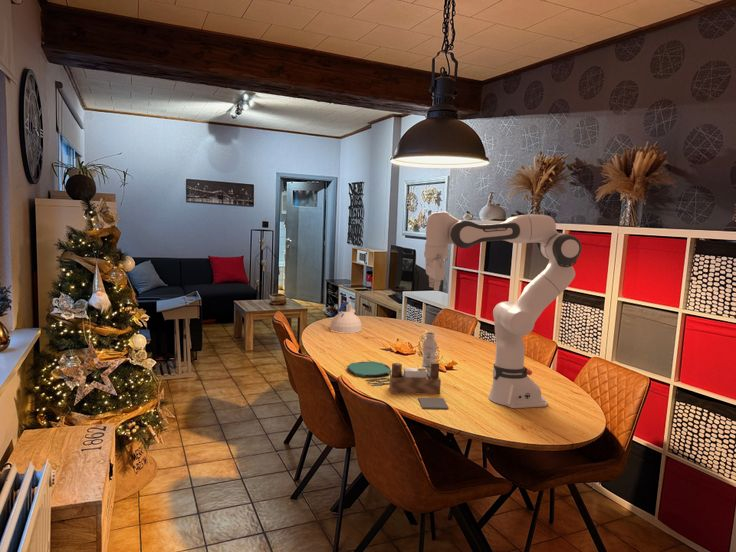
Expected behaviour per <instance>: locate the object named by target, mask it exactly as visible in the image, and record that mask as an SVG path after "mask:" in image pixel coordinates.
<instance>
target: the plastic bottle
mask: <svg viewBox="0 0 736 552" xmlns="http://www.w3.org/2000/svg"><path fill="white" fill-rule="evenodd" d="M437 343H438V342H437V341H436V340H435V333H434V332H426V333H425V339H424V340H423V342H422V364H421V367H425V368H426V370H427V372H429V374H430V371H431V362H436V352H437V349H438V344H437Z"/></svg>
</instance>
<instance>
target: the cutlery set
mask: <svg viewBox="0 0 736 552" xmlns="http://www.w3.org/2000/svg"><path fill="white" fill-rule="evenodd" d="M346 367H347V370H348V372H349V373H352V374H354V375H355V376H356V377H362V378H364V377H380V376H381V377H380V378H369V379H365V381H366V382H367V383H368V384H370V383H371V384H370V386H371V387H379V386H380V387H382V385H383V386H385V385H390V378H389V377H385V376H384V377H383V375H386V374H388V375H389V376H390V373H392V368H391V366H389V365H387V364H384V362H379V361H370V360H369V361H359V362H358V361H357V362H351V363H350V364H348V365H347V366H346ZM375 381H376V382H375ZM369 382H370V383H369Z"/></svg>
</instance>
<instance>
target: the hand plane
mask: <svg viewBox="0 0 736 552" xmlns="http://www.w3.org/2000/svg"><path fill="white" fill-rule="evenodd" d="M402 365H403V364H402V363H400V362H394V363H391V373H390V375H389V379H390V381H389V383H390V384H389V390H390V393H391V394H416V393H420V394H424V395H426V394H428V395H429V394H430V395H431V394H432V395H440V394H441V381H442V380H441V378H440V376H439V375H440V373H439V372H440V363H439V361H435V362H431V371H430V374H429V372H427V378H405V377H404V371H403V370H402V369H403V366H402ZM420 394H419V395H420Z"/></svg>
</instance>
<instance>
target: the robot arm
mask: <svg viewBox="0 0 736 552" xmlns="http://www.w3.org/2000/svg"><path fill="white" fill-rule="evenodd" d="M425 228H426V229H425V238H426V240H425V243H424V255H423V257H424V258H425V274H426V275H427V276H428V282H429V285H428V286H429V288H433V291H435V292H439V291H440V286H441V281H444V280H445V277H446V274H445V273H446V263H445V260H447V259H448V254H449V252H448V251H449V245H450V244H452V245H453V246H456V247H457V248H460V249H469V248H473V247H474V246H475V245H478V244H480V243H484V242H485V243H486V242H493V241H504V242H505V241H506V242H509V243H511V244H530V243H534V244H535V243H536V245H537V249H538V252H539V254H540V256H542V257H543V258H544V259H546V260H548V263H547V266H546V267H545V269H543V270H542V271H541V272H540V273H539V274H537V276H535V277H534V278H533V279H531V281H530V282H529V283H528V284H526V285H525V287H524V288H523V290H522V292H521V294H520V296H519V297H518V299H517V300H516V301H515V302H512V301H500V302H499V303H497V304H496V305H495V307H494V308H493V311H492V316H493V320H494V321H493V322H494V323H493V325H494V334H495V358H494V359H495V360H494V364H493V368H492V378H493V379H492V383H491V388H490V392H489V394H488V400H490V401H492V402H493V403H495V404H498V405H502V406H506V407H509V408H511V409H524V408H538V407H539V408H541V407H547V406H548V401H547V400H546V398H544V396H542V390H541V388H540V386H539V385H538V384H537V383H536V382H535V381H534V380H533V379H531V377H529V376H532V374H533V371H532V370H531V369H530V368H528V367H526V366H525V365H524V364H525V352H526V351H525V350H526V347H525V342H524V339H523V337H524V336H526V335H529V334H530V333H531V332H532V331H533V330H534V328H535V323H536V322H537V320H538V318H539V317H540V316H541V314H542V313H543V312H544V310H545V309H546V308H547V307H548V306H549V305H550V304H551V303H552V302H553V301H555V300H556V298H558V297H559V296H560V295H561V294H562V293H563V292H564V291H565V290H566V289H567V288H569V286H570V284H571V283H572V282H573V280H574V279H575V277H576V271H575V268H574V267H573V266H575V264H576V263H577V261H578V258H579V257H580V255H581V253H582V242H581V241H580V239H578V238H577V237H576V236H574V235H573V234H570V233H563V232H562V233H561V232H560V233H559V232H558V231H557V223H556V221H555V219H554V218H553V217H552V216H550V215H548V214H547V215H546V214H537V213H535V214H533V213H532V214H531V213H530V214H520V215H518V214H517V215H513V216H511V217H508V218H507V219H506V220H504V221H502V222H500V223H489V224H488V223H487V224H477V223H475V222H473V221H469V220H460V219H458V218H456V217H454V216H453V215H451V214H450V213H449V212H448V211H438V212H432V213H431V214H429V216H428V218H427V220H426V226H425Z"/></svg>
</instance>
